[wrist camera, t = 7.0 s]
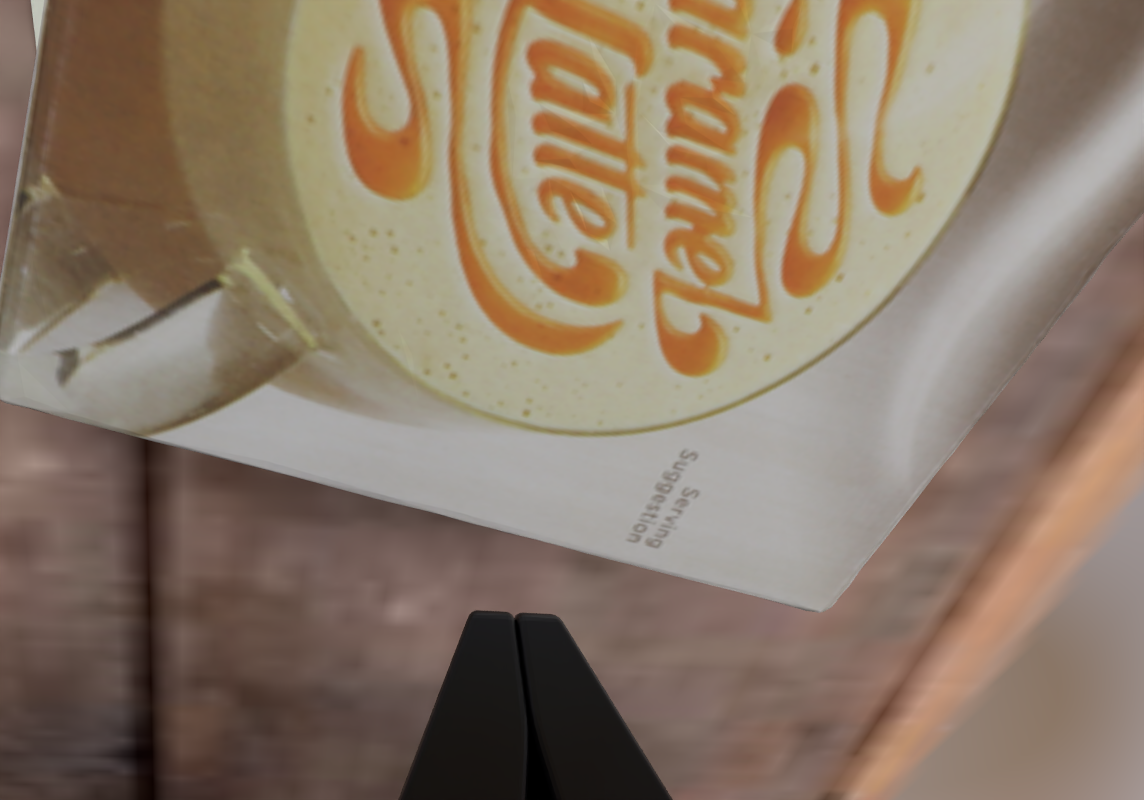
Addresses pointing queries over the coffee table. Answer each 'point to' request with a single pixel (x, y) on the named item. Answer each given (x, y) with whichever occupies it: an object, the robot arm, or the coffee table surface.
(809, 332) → the coffee box
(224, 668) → the coffee table surface
